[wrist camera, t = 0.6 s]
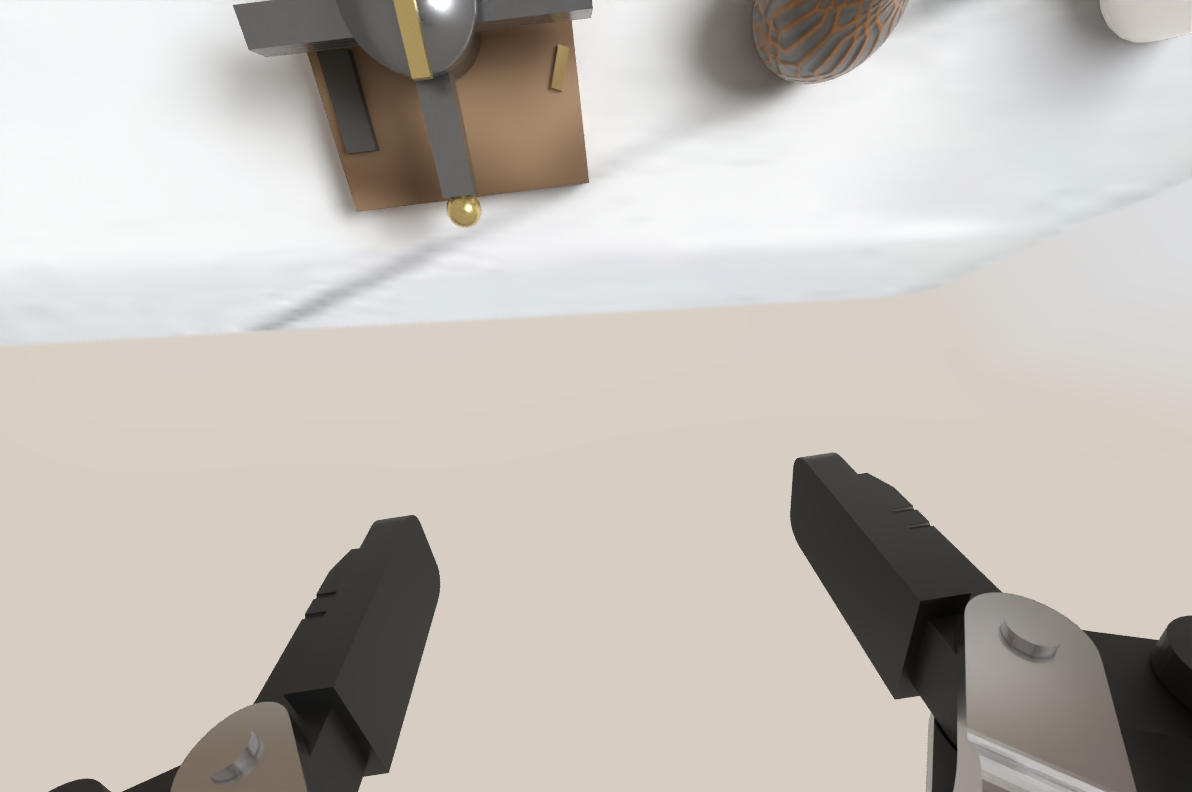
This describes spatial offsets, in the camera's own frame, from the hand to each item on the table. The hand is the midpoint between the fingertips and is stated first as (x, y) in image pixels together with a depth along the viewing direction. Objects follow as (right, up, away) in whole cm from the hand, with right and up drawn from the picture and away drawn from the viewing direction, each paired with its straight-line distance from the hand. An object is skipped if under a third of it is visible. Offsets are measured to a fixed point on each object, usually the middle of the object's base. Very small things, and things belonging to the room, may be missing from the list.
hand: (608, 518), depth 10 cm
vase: (+11, +24, +17) cm, 32 cm away
